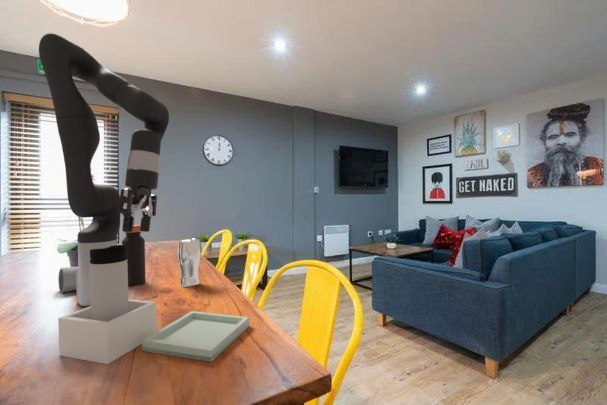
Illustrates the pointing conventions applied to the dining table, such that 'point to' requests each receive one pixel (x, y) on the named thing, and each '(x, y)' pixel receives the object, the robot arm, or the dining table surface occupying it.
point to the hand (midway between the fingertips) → (136, 231)
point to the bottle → (135, 256)
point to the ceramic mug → (67, 279)
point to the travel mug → (108, 282)
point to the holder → (106, 332)
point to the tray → (197, 335)
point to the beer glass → (189, 261)
